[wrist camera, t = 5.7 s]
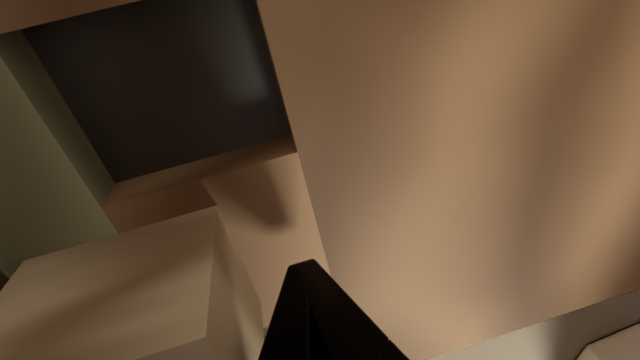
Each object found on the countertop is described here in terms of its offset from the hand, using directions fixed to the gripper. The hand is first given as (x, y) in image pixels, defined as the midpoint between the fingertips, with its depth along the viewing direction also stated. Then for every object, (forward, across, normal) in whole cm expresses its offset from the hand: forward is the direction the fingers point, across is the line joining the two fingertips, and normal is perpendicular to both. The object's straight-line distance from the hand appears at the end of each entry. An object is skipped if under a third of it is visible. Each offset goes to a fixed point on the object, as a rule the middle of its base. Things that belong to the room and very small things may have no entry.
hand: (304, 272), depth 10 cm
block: (+1, +4, 0) cm, 4 cm away
